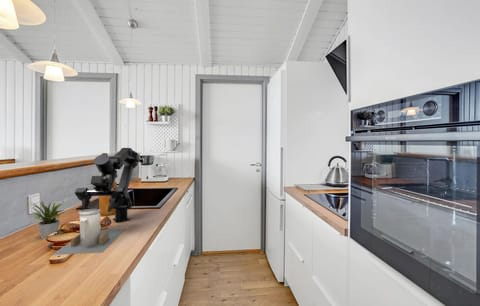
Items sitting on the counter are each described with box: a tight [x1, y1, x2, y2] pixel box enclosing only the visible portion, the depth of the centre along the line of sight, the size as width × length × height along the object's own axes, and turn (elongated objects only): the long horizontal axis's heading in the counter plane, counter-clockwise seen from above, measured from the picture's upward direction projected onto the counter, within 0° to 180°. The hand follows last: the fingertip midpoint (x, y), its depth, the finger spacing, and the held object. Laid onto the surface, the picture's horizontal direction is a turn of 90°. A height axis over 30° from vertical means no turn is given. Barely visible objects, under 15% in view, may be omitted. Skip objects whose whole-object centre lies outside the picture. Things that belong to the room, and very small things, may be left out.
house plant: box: [27, 197, 68, 240], centre depth 99 cm, size 14×14×16 cm
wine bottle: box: [98, 180, 118, 216], centre depth 135 cm, size 10×10×30 cm
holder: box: [51, 228, 127, 256], centre depth 94 cm, size 24×16×4 cm, turn 7°
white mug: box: [78, 208, 101, 247], centre depth 90 cm, size 9×7×12 cm
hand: (95, 212), depth 96 cm, fingers open, 9 cm apart
